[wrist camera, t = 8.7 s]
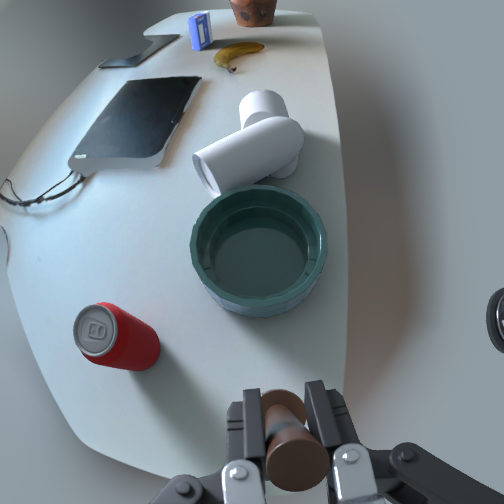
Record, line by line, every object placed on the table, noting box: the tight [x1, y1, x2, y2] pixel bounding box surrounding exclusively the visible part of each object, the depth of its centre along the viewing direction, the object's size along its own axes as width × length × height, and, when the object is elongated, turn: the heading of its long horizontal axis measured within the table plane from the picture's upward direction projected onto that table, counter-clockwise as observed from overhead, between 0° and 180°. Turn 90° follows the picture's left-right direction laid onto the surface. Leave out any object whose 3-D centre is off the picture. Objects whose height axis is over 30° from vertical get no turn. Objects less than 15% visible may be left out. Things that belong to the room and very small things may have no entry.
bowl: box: [190, 184, 327, 317], centre depth 38 cm, size 17×17×6 cm
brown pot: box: [229, 0, 277, 27], centre depth 73 cm, size 18×20×18 cm
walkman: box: [188, 12, 213, 50], centre depth 67 cm, size 8×3×12 cm, turn 155°
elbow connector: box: [192, 90, 304, 199], centre depth 44 cm, size 18×11×20 cm
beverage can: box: [73, 302, 160, 371], centre depth 30 cm, size 7×7×12 cm
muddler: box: [261, 389, 330, 492], centre depth 14 cm, size 4×4×16 cm
